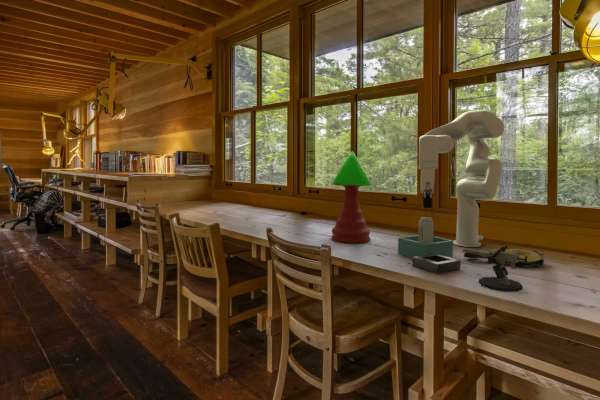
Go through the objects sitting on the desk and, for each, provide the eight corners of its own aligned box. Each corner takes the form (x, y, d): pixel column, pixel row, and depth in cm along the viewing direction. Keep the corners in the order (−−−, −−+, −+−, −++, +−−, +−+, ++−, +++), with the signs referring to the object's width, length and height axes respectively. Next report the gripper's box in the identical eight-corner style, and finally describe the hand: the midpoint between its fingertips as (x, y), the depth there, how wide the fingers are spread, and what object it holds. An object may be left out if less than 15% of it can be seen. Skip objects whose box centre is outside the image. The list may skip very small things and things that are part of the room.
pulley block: (462, 241, 164) (544, 246, 154) (461, 253, 165) (542, 259, 156) (465, 253, 151) (554, 260, 141) (464, 267, 152) (552, 274, 143)
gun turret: (469, 272, 139) (471, 237, 137) (531, 286, 124) (533, 246, 122) (451, 279, 130) (453, 242, 129) (515, 295, 115) (518, 253, 114)
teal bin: (424, 249, 175) (424, 234, 174) (452, 257, 161) (453, 240, 160) (397, 253, 167) (398, 237, 167) (425, 261, 154) (426, 244, 153)
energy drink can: (414, 251, 166) (416, 217, 165) (426, 250, 168) (428, 216, 166) (423, 255, 160) (424, 219, 159) (435, 254, 162) (437, 218, 161)
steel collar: (434, 262, 153) (435, 253, 153) (460, 269, 143) (460, 260, 142) (412, 265, 147) (412, 256, 147) (437, 274, 137) (437, 264, 137)
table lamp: (374, 237, 202) (376, 150, 198) (364, 245, 184) (366, 149, 180) (338, 234, 210) (339, 151, 206) (325, 241, 192) (326, 150, 188)
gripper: (418, 165, 170) (417, 203, 172) (418, 166, 153) (418, 209, 155) (436, 164, 168) (435, 204, 170) (438, 166, 151) (437, 209, 153)
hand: (427, 206), depth 162 cm, fingers open, 9 cm apart
